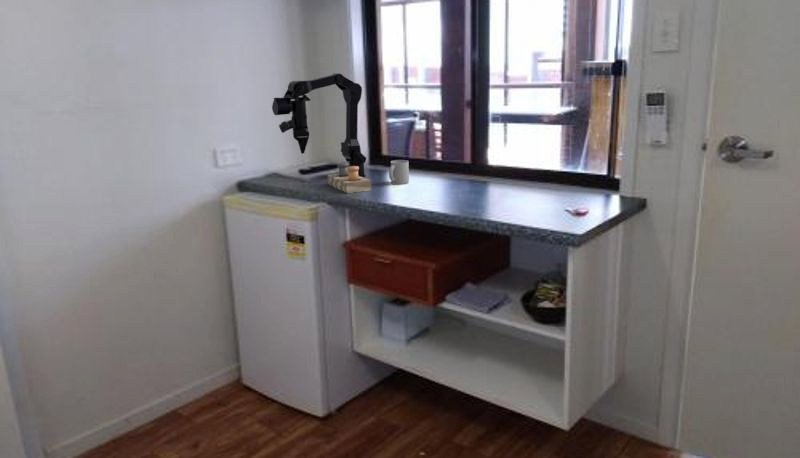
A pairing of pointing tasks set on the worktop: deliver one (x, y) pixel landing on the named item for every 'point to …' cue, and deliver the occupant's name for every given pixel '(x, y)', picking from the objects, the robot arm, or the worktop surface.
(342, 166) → the grey mushroom knob
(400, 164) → the cup
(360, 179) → the housing
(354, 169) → the mushroom knob terracotta
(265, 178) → the worktop surface
